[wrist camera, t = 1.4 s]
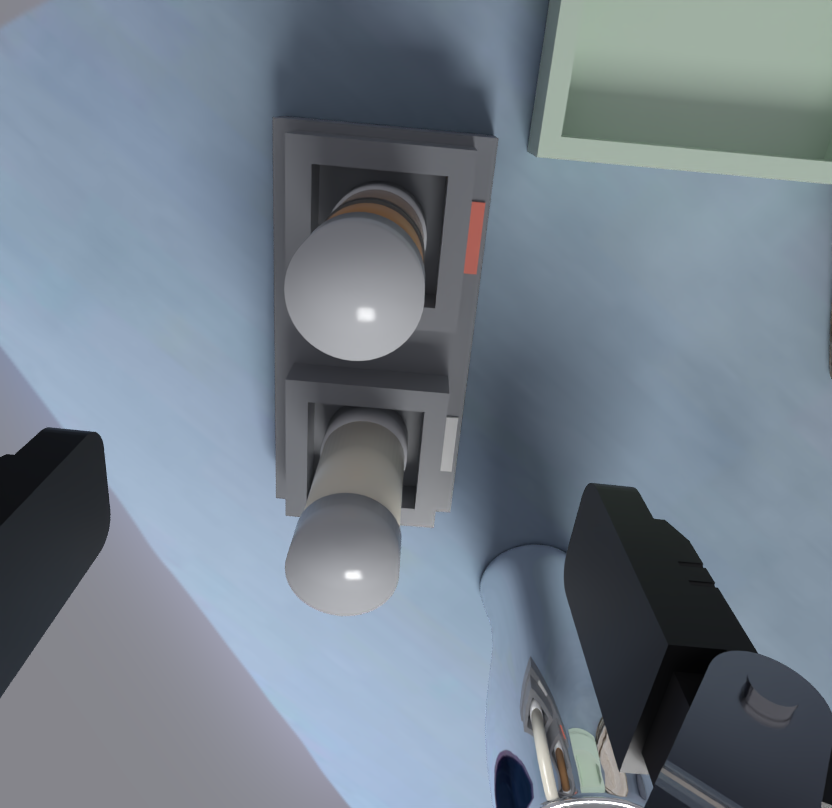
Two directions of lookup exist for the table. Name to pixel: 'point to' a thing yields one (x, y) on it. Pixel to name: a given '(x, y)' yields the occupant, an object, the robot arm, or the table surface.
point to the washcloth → (831, 346)
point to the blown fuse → (361, 274)
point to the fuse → (352, 515)
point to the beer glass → (544, 695)
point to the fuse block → (442, 313)
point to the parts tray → (688, 86)
